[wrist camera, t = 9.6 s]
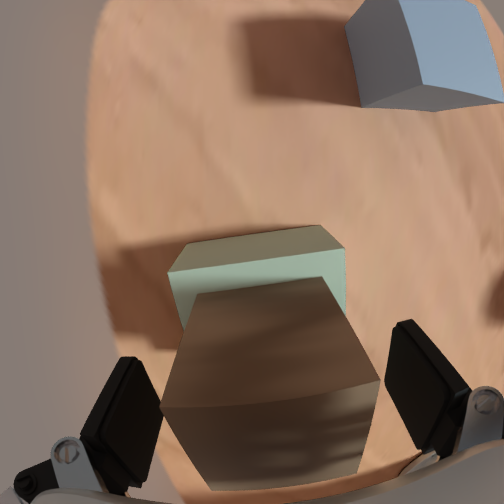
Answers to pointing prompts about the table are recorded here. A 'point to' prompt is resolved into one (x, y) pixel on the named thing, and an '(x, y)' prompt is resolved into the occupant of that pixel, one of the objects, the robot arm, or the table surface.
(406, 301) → the table surface
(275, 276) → the base brick
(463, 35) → the slate block
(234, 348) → the walnut block
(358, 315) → the table surface
